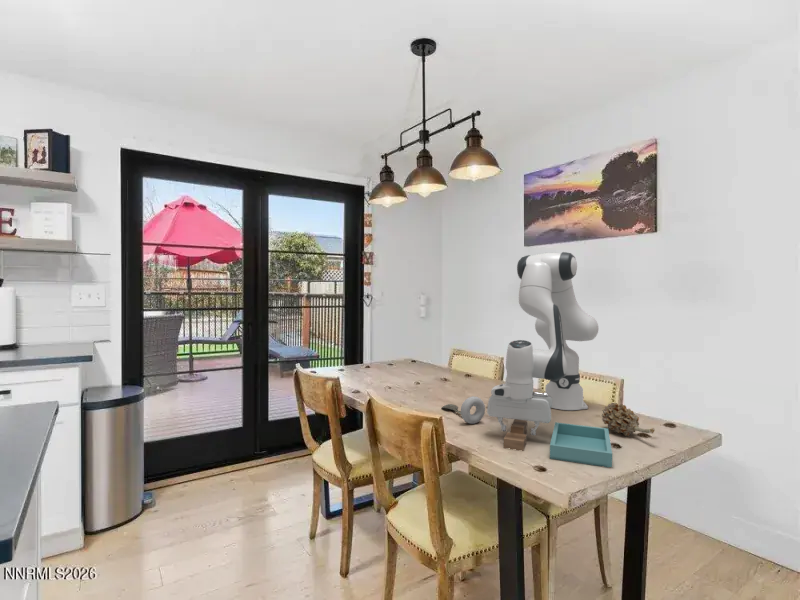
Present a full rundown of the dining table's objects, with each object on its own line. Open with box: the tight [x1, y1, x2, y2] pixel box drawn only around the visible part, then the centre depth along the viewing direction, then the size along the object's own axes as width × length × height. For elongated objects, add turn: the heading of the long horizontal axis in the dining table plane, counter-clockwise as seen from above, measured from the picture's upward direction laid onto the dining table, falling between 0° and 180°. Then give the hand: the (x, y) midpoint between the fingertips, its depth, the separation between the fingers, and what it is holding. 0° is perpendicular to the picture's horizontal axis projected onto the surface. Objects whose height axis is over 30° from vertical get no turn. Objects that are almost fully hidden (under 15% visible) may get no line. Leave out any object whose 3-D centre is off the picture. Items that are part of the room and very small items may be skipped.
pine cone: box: [601, 402, 656, 437], centre depth 152 cm, size 22×10×10 cm, turn 21°
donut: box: [460, 395, 486, 425], centre depth 164 cm, size 10×3×10 cm, turn 116°
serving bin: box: [549, 421, 613, 468], centre depth 139 cm, size 24×16×4 cm
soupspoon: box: [441, 403, 461, 415], centre depth 176 cm, size 22×3×7 cm
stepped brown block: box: [503, 419, 528, 452], centre depth 146 cm, size 17×6×5 cm, turn 158°
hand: (518, 432), depth 148 cm, fingers open, 8 cm apart
